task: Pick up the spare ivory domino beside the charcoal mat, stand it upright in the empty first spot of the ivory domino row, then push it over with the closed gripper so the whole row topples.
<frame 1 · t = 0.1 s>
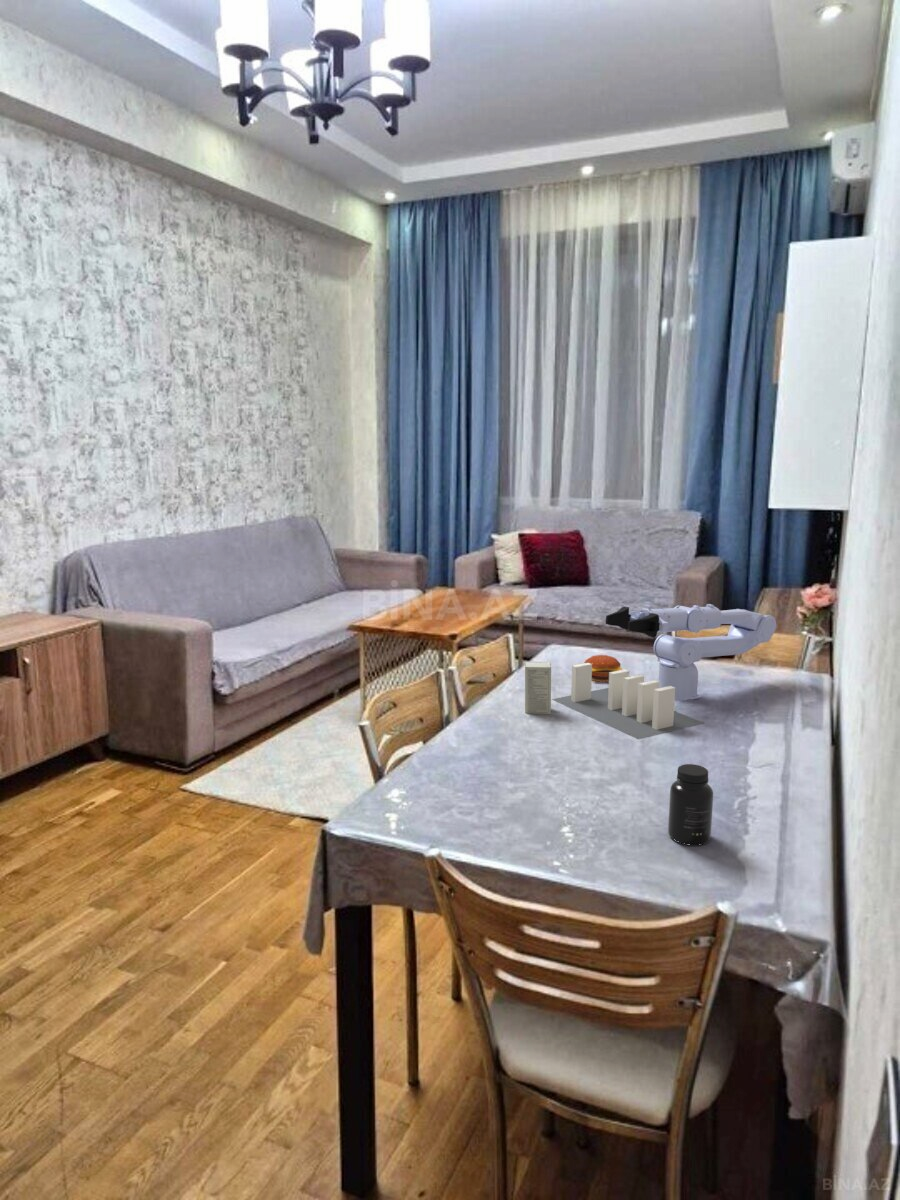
hand: (617, 623, 192), 22 cm above the table, tool horizontal, fingers open, 7 cm apart
domino 2: (617, 707, 197), point 1 cm above the table, touching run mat
hamburger: (602, 680, 221), on the table
domino 5: (662, 726, 184), point 1 cm above the table, touching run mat
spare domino: (581, 699, 202), point 1 cm above the table, touching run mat
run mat: (624, 712, 195), on the table
domino 3: (632, 713, 192), point 1 cm above the table, touching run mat
domino 4: (647, 720, 188), point 1 cm above the table, touching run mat
skincare box: (537, 713, 195), on the table
supplement bottle: (688, 838, 135), on the table
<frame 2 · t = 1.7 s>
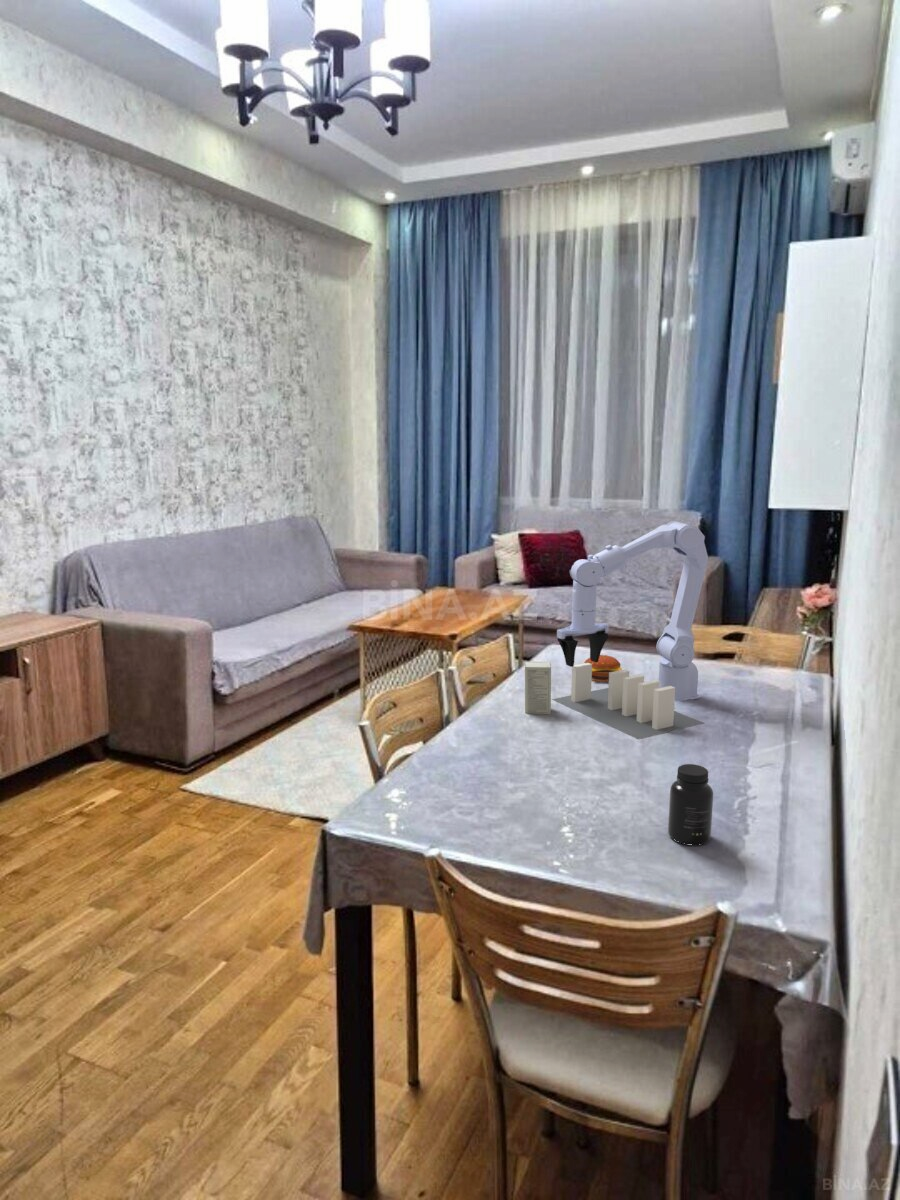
hand: (582, 663, 200), 10 cm above the table, tool pointing down, fingers open, 7 cm apart
nothing on the table moved.
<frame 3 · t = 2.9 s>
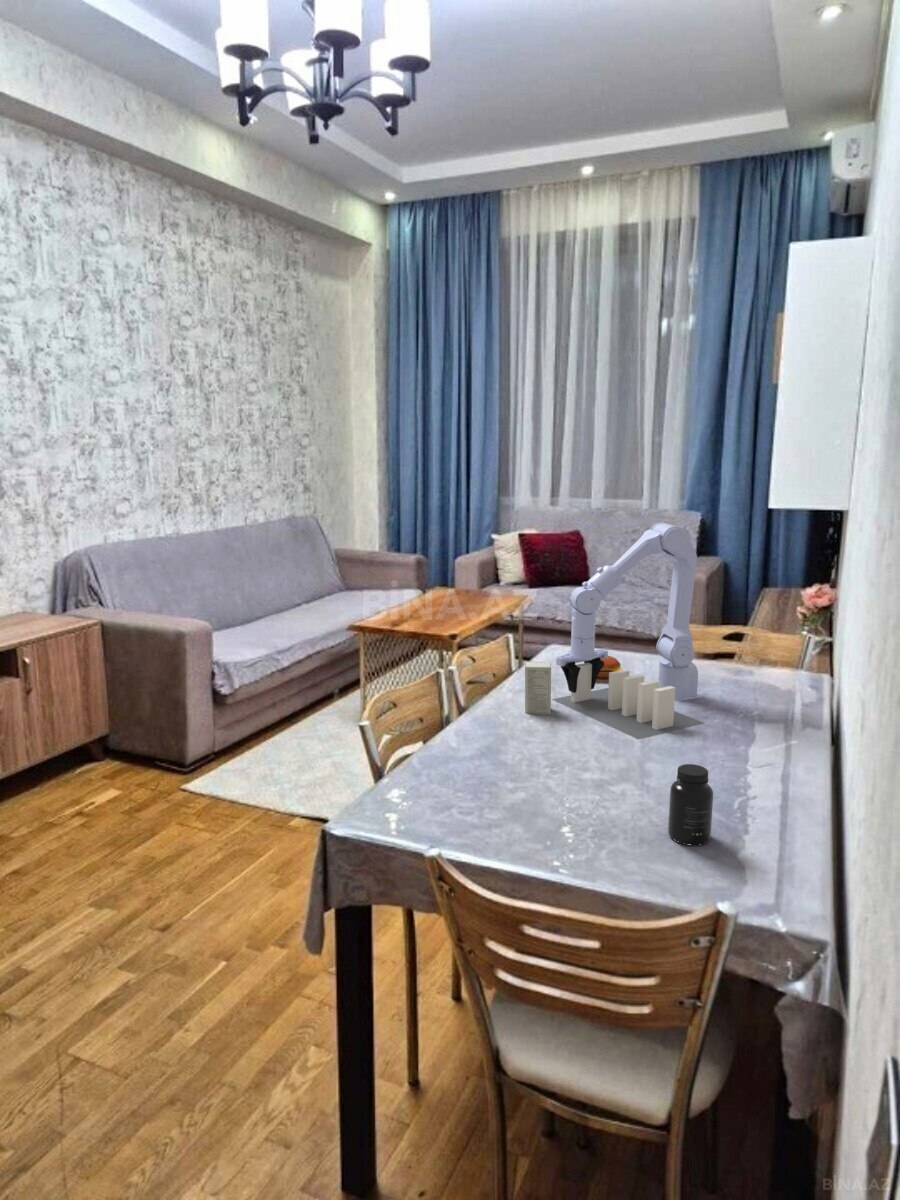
hand: (581, 689, 202), 3 cm above the table, tool pointing down, fingers closed on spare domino, 5 cm apart
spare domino: (581, 699, 202), point 1 cm above the table, touching gripper, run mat
everything else where it was.
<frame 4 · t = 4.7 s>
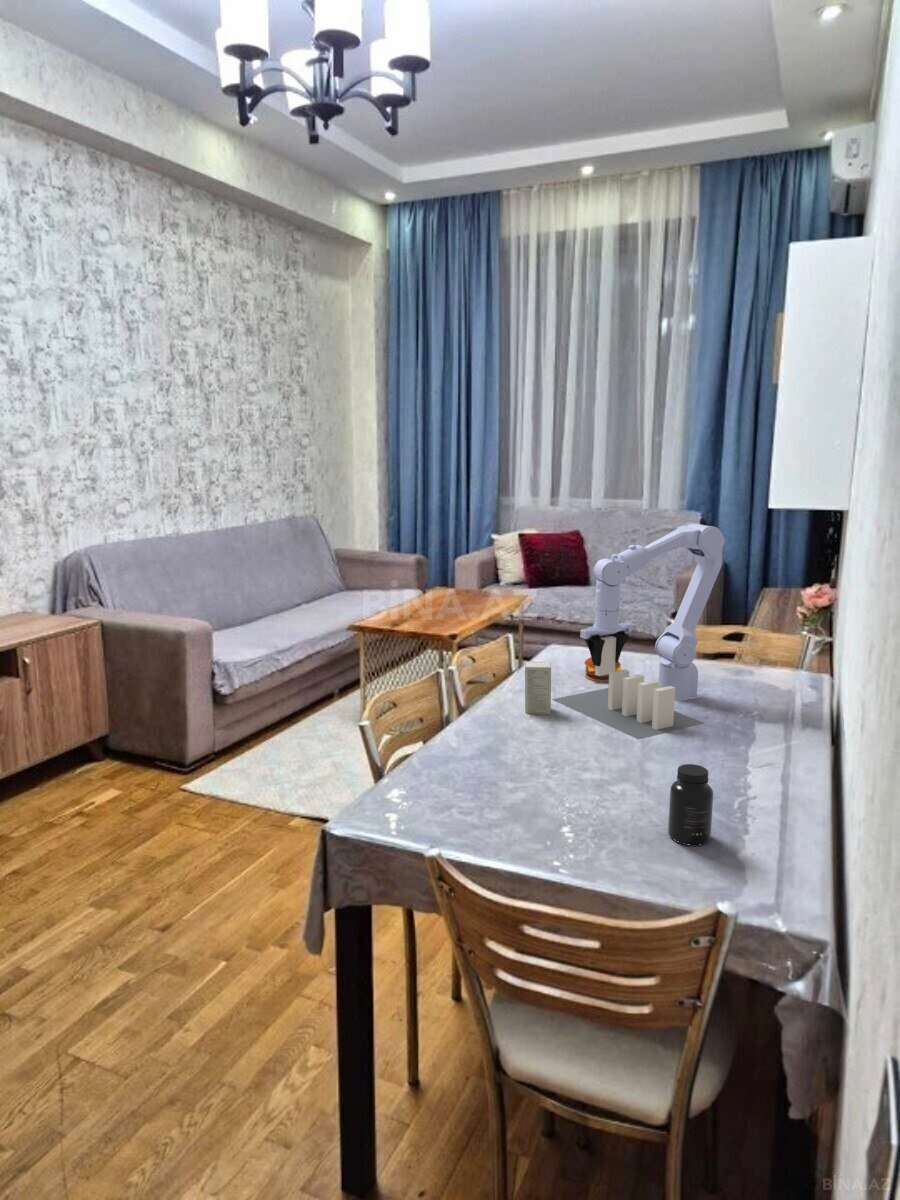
hand: (605, 663, 199), 10 cm above the table, tool pointing down, fingers closed on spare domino, 5 cm apart
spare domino: (605, 673, 200), point 8 cm above the table, touching gripper
everything else where it was.
when the fingers open (4 cm above the table, at t = 6.7 s): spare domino drops 1 cm, resting on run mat.
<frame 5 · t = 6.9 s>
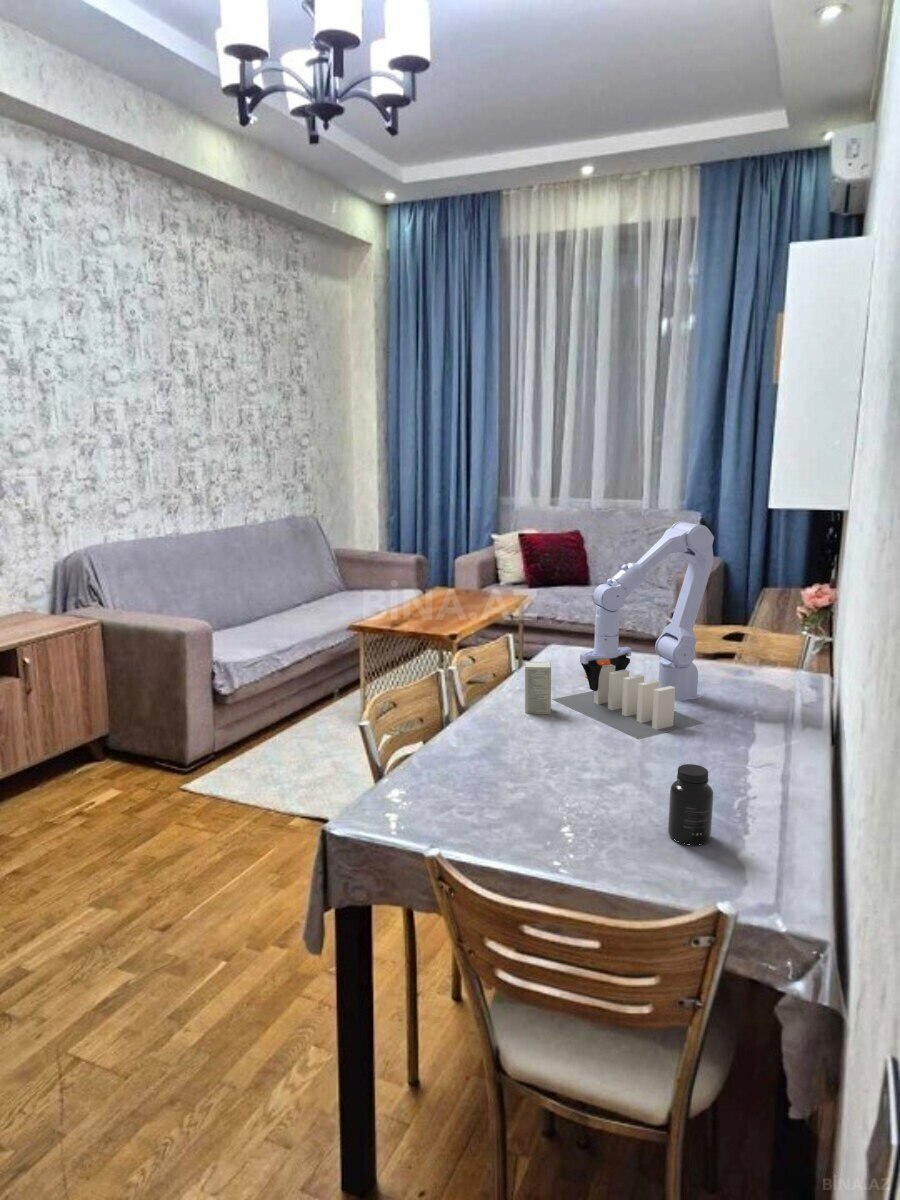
hand: (604, 687, 200), 4 cm above the table, tool pointing down, fingers open, 6 cm apart
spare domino: (604, 701, 201), point 1 cm above the table, touching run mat
everything else where it was.
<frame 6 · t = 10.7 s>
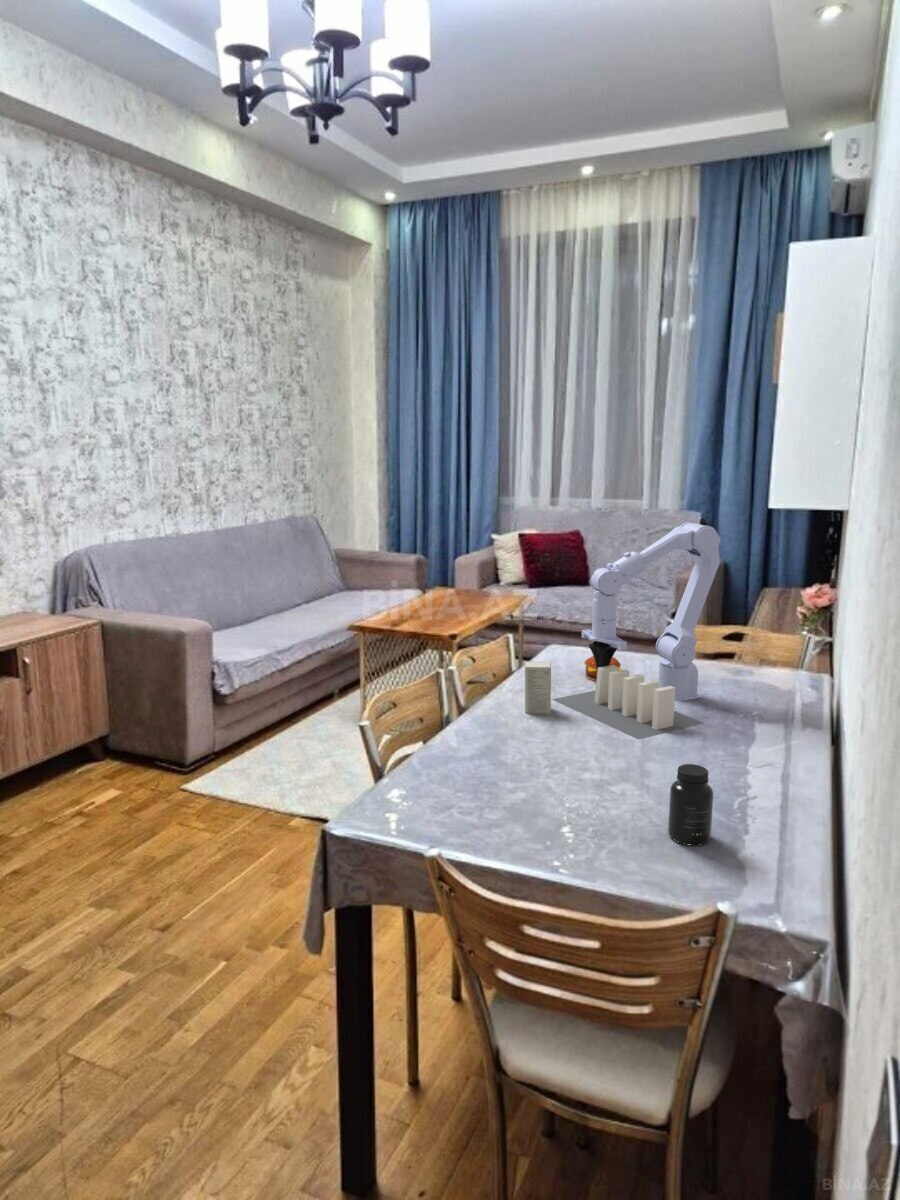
hand: (602, 672, 200), 8 cm above the table, tool pointing down, fingers closed
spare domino: (604, 701, 201), point 1 cm above the table, tilted 6°, touching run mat
everything else where it was.
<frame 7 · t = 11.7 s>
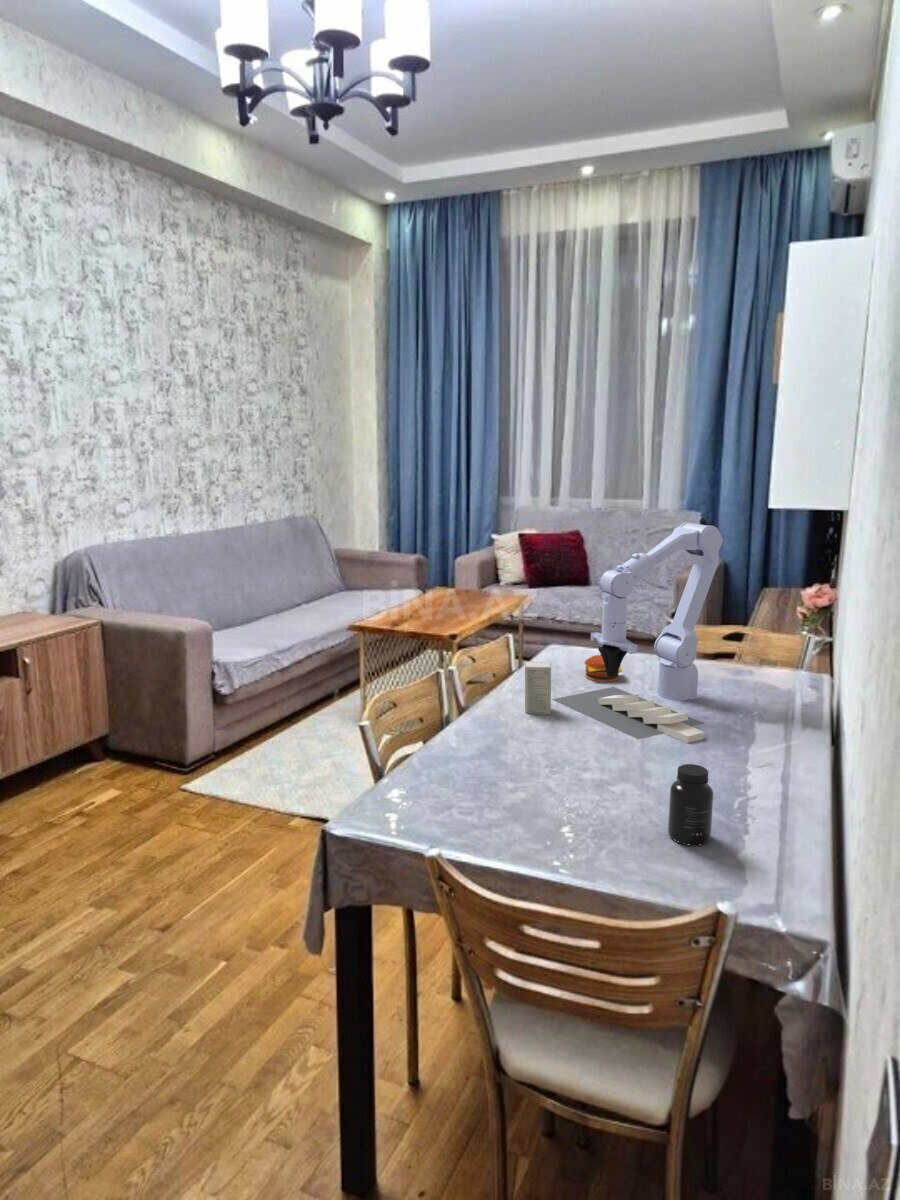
hand: (612, 675, 197), 8 cm above the table, tool pointing down, fingers closed
domino 2: (620, 705, 196), point 1 cm above the table, tilted 73°, touching domino 3, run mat, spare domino
domino 5: (665, 724, 183), point 1 cm above the table, tilted 90°, touching domino 4, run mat
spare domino: (606, 699, 200), point 1 cm above the table, tilted 73°, touching domino 2, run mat
domino 3: (635, 712, 191), point 1 cm above the table, tilted 72°, touching domino 2, domino 4, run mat
domino 4: (651, 718, 187), point 1 cm above the table, tilted 72°, touching domino 3, domino 5
everything else where it was.
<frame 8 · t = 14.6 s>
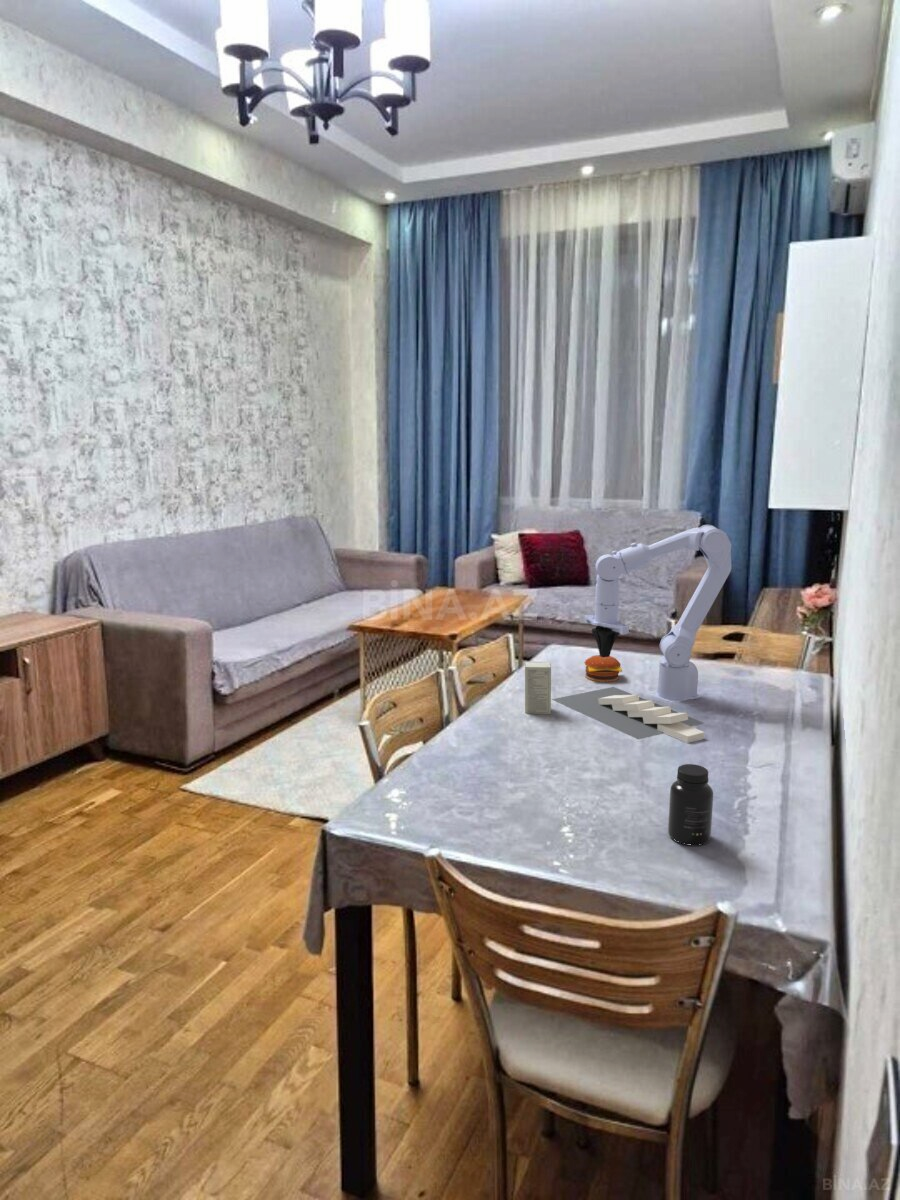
hand: (604, 656, 205), 10 cm above the table, tool pointing down, fingers closed
nothing on the table moved.
at the end: domino 5 tilted 90°; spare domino inside the target area (0.9 cm from its centre), point 1.3 cm above the table; the gripper is holding nothing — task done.
